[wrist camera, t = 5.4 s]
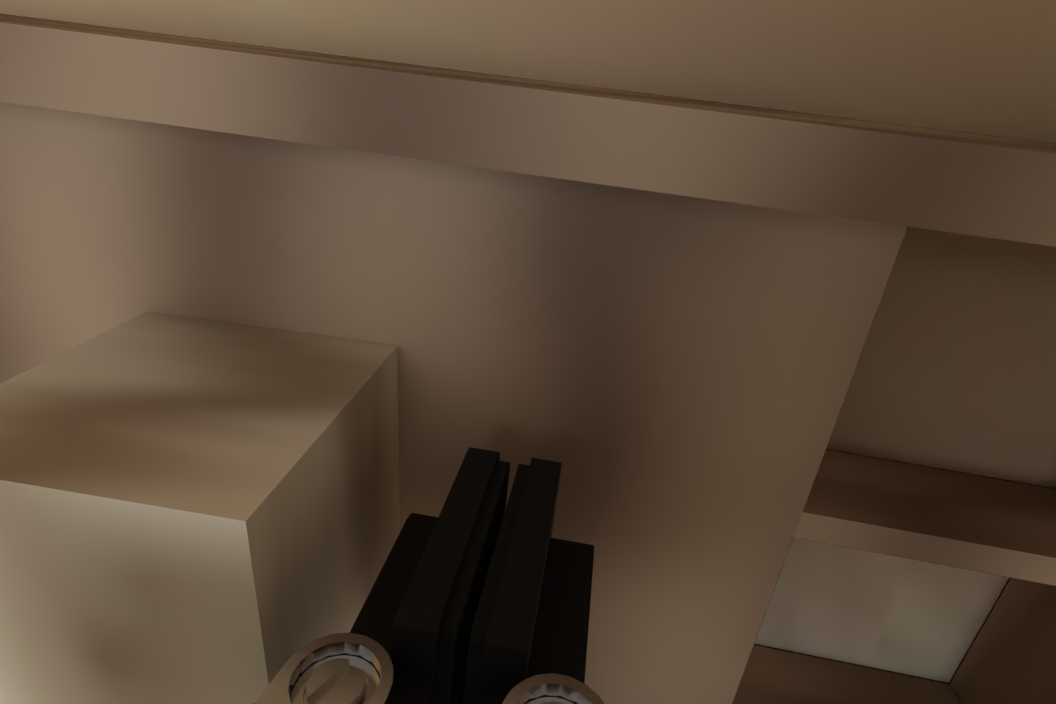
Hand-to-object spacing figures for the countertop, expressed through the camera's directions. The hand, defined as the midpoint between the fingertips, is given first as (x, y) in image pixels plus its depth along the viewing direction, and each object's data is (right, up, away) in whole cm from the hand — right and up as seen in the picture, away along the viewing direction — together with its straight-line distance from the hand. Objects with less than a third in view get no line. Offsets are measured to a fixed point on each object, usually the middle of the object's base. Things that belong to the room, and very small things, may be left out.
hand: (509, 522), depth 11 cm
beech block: (-5, +1, +2) cm, 5 cm away
